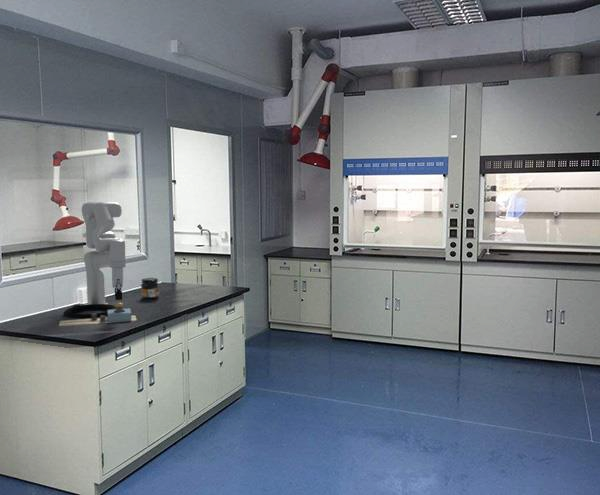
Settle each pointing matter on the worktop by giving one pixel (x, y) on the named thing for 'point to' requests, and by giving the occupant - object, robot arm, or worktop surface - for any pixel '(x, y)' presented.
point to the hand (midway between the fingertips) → (118, 297)
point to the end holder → (119, 315)
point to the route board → (89, 320)
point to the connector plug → (119, 307)
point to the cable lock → (77, 308)
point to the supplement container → (149, 289)
